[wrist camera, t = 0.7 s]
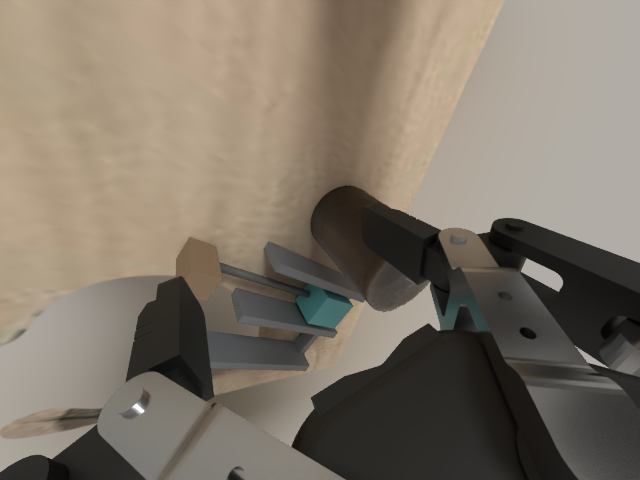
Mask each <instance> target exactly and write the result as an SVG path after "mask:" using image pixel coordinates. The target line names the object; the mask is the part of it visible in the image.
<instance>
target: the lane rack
mask: <svg viewBox="0 0 640 480" xmlns="http://www.w3.org/2000/svg"><path fill="white" fill-rule="evenodd" d="M264 250H265V252H266V254H267V257H268V259H269V261H270V263H271V265H272V267H273V269H274V271H275V272H277V273H280V274H283V275H286V276H289V277H292V278H294V279H297V280H300V281H303V282H306V283H309V284H311V285H314V286H317V287H320V288H323V289H326V290H329V291H331V292H334V293H337V294H340V295H343V296H346V297H347V298H348V300H349V299H350V298H351V299H354V300H357V301H360V302H364V301H365V299H364V298H363V296H362V295H361V294H360V293H359V292H358V290H357V289H356V288H355V287H354V285H353V284H352V283H351V282H350V281H349V279H348V278H347V277H346V276H345V275H343V274H341V273H339V272H336V271H334V270H332V269H330V268H327V267H325V266H323V265H321V264H318V263H316V262H314V261H312V260H309V259H307V258H305V257H303V256H300V255H298V254H296V253H293V252H291V251H289V250H287V249H284V248H282V247H280V246H278V245H275V244H273V243H271V242H268V243H267V245H266V246H265V248H264ZM232 300H233V304H234V309H235V312H236V317H237V322H238V323H244V324H250V325H256V326H262V327H268V328H275V329H281V330H287V331H293V332H300V333H301V334H300V335H299V337H298V338H297V339H296V340H295V342H291V341H283V340H275V339H267V338H259V337H250V336H242V335H234V334H227V333H219V332H210V331H206V332H207V340H208V349H209V357H210V366H211V369H249V370H294V371H306V370H307V368H308V367H309V364H308V362H307V359H306V357H305V355H304V353H305V352H306V351H307V350H308V348H309V347H310V346H311V345H312V344H313V342H314V341H315V340H316V339H317V337H318V336H324V337H331V338H334V336H335V335H336V334H337V331H336V330H335V328H334V329H333V328H328V327H323V326H318V325H313V324H308V323H307V321H306V319H305V317H304V315H303V313H302V311H301V309H300V308H299V306H298V304H294V303H290V302H287V301H283V300H279V299H275V298H271V297H267V296H264V295H260V294H256V293H252V292H248V291H244V290H241V289H237V288H236V289H235V290H234V292H233V293H232Z"/></svg>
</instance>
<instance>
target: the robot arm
mask: <svg viewBox="0 0 640 480" xmlns="http://www.w3.org/2000/svg"><path fill="white" fill-rule="evenodd" d="M361 227H362V238H363V241H364V243H365V245H366V246H367V247H368V248H370V249H371V250H372V251H373V252H375V253H376V254H377V255H379V256H380V257H381V258H383V259H384V260H385V261H387V262H388V263H389V264H391V265H392V266H393V267H395V268H396V269H397V270H398V271H400V272H401V273H402V274H404V275H405V276H406V277H408V278H409V279H410V280H412V281H413V282H414V283H416V284H417V285H419V284H421V283H423V282H425V281H427V280H429V281H430V282H431V284H430V290H431V293H432V297H433V301H434V304H435V308H436V311H437V315H438V319H439V322H440V331H437V330H436V329H434V328H433V327H432V326H431V325H430V324H427V325H425V326H423V327H422V328H420V329H419V330H417V331H415V332H414V333H412V334H411V335H409V336H407V337H406V338H404V339H403V340H402V341H401V343H400V344H399V345H398V346H397V347H396V349H395V350H394V351H393V352H392V353H391V355H390V356H389V357H388V358H387V359H386V361H385V362H384V363H383V364H382V365H380V366H377V367H374V368H371V369H368V370H364V371H361V372H358V373H354V374H351V375H348V376H344V377H343V378H341V379H339V380H338V381H336V382H335V383H333V384H332V385H330V386H328V387H327V388H325V389H324V390H322V391H320V392H319V393H317V394H316V395H314V396H313V397H311V400H312V402H313V406H314V410H313V411H312V412H311V413H310V415H309V416H308V417H307V419H306V420H305V422H304V423H303V424H302V426H301V428H300V429H299V431H298V433H297V435H296V437H295V439H294V441H293V444H292V446H291V447H290V446H289V445H287V444H285V443H284V442H282V441H280V440H279V439H277V438H275V437H274V436H272V435H270V434H269V433H267V432H265V431H263V430H262V429H260V428H259V427H257V426H255V425H254V424H252V423H250V422H248V421H247V420H245V419H243V418H242V417H240V416H238V415H237V414H235V413H234V412H232V411H230V410H229V409H227V408H225V407H224V406H221V405H220V404H217V403H214V404H213V405H211V404H209V403H207V402H206V401H207V400H209V399H211V398H213V397H214V392H213V383H212V375H211V366H210V357H209V349H208V340H207V332H206V324H205V317H204V313H203V310H202V308H201V306H200V304H199V302H198V300H197V299H196V297H195V295H194V294H193V292H192V290H191V289H190V287H189V285H188V284H187V282H186V281H185V279H184V278H183V277H182V276H179V277H176V278H174V279H171V280H168V281H165V282H163V283H160V284H158V289H157V297H156V300H155V301H152V302H149V303H147V304H146V306H145V308H144V309H143V310H142V312H141V313H140V315H139V316H138V321H137V326H136V330H137V331H136V332H135V337H134V340H135V342H133V347H132V352H131V357H130V362H129V368H128V373H127V378H126V383H125V384H123V385H122V386H121V387H120V388H119V389H118V390H117V391H116V392H115V393H114V394H113V395H112V396H111V398H110V399H109V400H108V401H107V403H106V404H105V406H104V407H103V409H102V411H101V413H100V416H99V419H98V424H97V425H96V426H94V427H93V428H92V429H91V430H90V431H88V432H87V433H86V434H84V435H83V436H82V437H80V438H79V439H78V440H76V441H75V442H74V443H73V444H71V445H70V446H69V447H67V448H66V449H65V450H63V451H62V452H61V453H60V454H59V455H57V456H56V457H54V458H53V459H49V458H47V457H45V456H42V455H32V456H29V457H26V458H23V459H21V460H19V461H17V462H15V463H14V464H12V465H10V466H9V467H7V468H6V469H5V470H3V471H2V472H0V480H640V263H638V262H635V261H633V260H630V259H627V258H624V257H622V256H619V255H616V254H614V253H611V252H608V251H605V250H603V249H600V248H597V247H595V246H592V245H589V244H586V243H584V242H581V241H578V240H575V239H573V238H570V237H567V236H565V235H562V234H559V233H556V232H554V231H551V230H548V229H546V228H543V227H540V226H537V225H535V224H532V223H529V222H527V221H523V220H520V219H514V218H502V219H498V220H495V221H494V222H493V224H492V227H491V230H490V232H488V233H482V234H475V233H473V232H472V231H469V230H466V229H462V228H448V229H445V230H442V231H441V230H439V229H437V228H435V227H433V226H431V225H429V224H427V223H425V222H423V221H420V220H418V219H417V220H416V218H414V217H412V216H409V215H408V214H406V213H404V212H402V211H400V210H395V209H390V208H388V207H386V206H384V205H382V204H380V203H377V202H376V203H373V204H371V205H368V206H365V207H363V208H362V209H361ZM526 258H528V259H530V260H532V261H534V262H536V263H538V264H540V265H543V266H545V267H546V268H549V269H551V270H553V271H555V272H556V273H558V274H559V275H560V276H561V277H562V279H563V286H562V288H561V289H560V291H559V292H558V291H556V290H554V289H552V288H550V287H548V286H546V285H544V284H542V283H541V282H539V281H537V280H535V279H533V278H531V277H529V276H527V275H525V274H524V273H522V272H521V269H522V267H523V265H524V263H525V260H526ZM574 345H575V346H576V347H578V348H579V349H581V350H582V351H584V352H586V353H588V354H589V355H590V356H592V357H593V358H595V359H596V360H598V361H599V362H601V363H602V364H604V365H606V366H607V367H609V369H608V368H605V367H601V366H597V365H594V364H590V363H587V362H586V360H585V359H584V358H583V356H582V355H581V354H580V352H579V351H578V350H577V348H576V347H575V346H574Z"/></svg>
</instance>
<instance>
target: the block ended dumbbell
mask: <svg viewBox="0 0 640 480" xmlns="http://www.w3.org/2000/svg"><path fill="white" fill-rule="evenodd" d="M221 272H222V273H226V274H229V275H232V276H236V277H239V278H243V279H246V280H249V281H253V282H256V283H260V284H263V285H266V286H270V287H273V288H276V289H280V290H283V291H287V292H290V293H293V294H297V295H299V296H298V297H297V298H296V302H297V304H298V306H299V308H300V309H301V311H302V313H303V315H304V317H305V319H306V321H307V323H308V324H313V325H318V326H323V327H328V328H333V329H334V328H335V327H336V326H337V325H338V324H339V322H340V321H341V320H342V319H343V318H344V316H345V315H346V314H347V313H348V312H349V310H350V309H351V308H352V307H353V305H352V304H351V302H350V301H349V300H348V298H347V297H346V296H343V295H340V294H337V293H334V292H331V291H329V290H326V289H323V288H320V287H317V286H314V285H311V284H309V283H308V284H307V285H306V287H305V288H304V289H301V288H297V287H294V286H291V285H288V284H285V283H282V282H279V281H276V280H273V279H270V278H266V277H263V276H260V275H257V274H254V273H251V272H248V271H245V270H242V269H238V268H235V267H232V266H229V265H226V264H223V263H220V262H219V259H218V254H217V249H216V247H215V246H212V245H209V244H206V243H204V242H201V241H198V240H195V239H192V238H189V239H188V241H187V243H186V244H185V246H184V247H183V249H182V251H181V252H180V254H179V255H178V257H177V259H176V277H179V276H182V277H183V278H184V279H185V281H186V282H187V284H188V285H189V287H190V289H191V290H192V292H193V294H194V295H195V297H196V299H197V300H201V301H206V302H207V301H208V300H209V298H210V297H211V295H212V294H213V292H214V291H215V289H216V288H217V286H218V285H219V284H220V282H221V281H222V279H223V278H222V273H221Z"/></svg>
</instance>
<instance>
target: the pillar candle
mask: <svg viewBox="0 0 640 480" xmlns="http://www.w3.org/2000/svg"><path fill="white" fill-rule="evenodd" d="M376 202H377V203H380V204H382V205H384V206H386V207H388V206H387V205H385V204H383V203H382V202H380V201H378V200H377V199H375V198H374V197H372V196H371V195H369V194H367V193H366V192H365V191H363V190H361V189H359V188H356V187H353V186H343V187H339V188H337V189H334V190H333V191H331V192H329V193H328V194H326V195H325V196H324V197H323V198H322V199H321V200H320V202H319V203H318V205H317V206H316V208H315V210H314V212H313V215H312V218H311V231H312V234H313V236H314V238H315V239H316V240H317V242H318V243H319V244H320V246H321V247H322V248H323V249H324V250H325V252H326V253H327V254H328V255H329V256H330V258H331V259H332V260H333V261H334V262H335V264H336V265H337V266H338V267H339V268H340V270H341V271H342V272H343V273H344V275H345V276H346V277H347V278H348V279H349V281H350V282H351V283H352V284H353V285H354V287H355V288H356V289H357V290H358V292H359V293H360V294H361V295H362V296H363V298H364V299H365V300H366V301H367V302H368V304H369V305H370V306H371V307H372V308H374V309H375V310H378V311H382V312H386V311H392V310H394V309H396V308H397V307H399V306H401V305H404V304H406V303H407V302H408V301H410V300H412V299H413V298H414V297H415V296H416V295H418V293H419V292H421V291H422V290H423V289H424V288H425V287H426V286H427V285H428V284H429V282H430V281H429V280H427V281H425V282H423V283H421V284H419V285H417V284H416V283H414V282H413V281H412V280H410V279H409V278H408V277H406V276H405V275H404V274H402V273H401V272H400V271H398V270H397V269H396V268H395V267H393V266H392V265H391V264H389V263H388V262H387V261H385V260H384V259H383V258H381V257H380V256H379V255H377V254H376V253H375V252H373V251H372V250H371V249H370V248H368V247H367V246H366V245H365V243H364V241H363V238H362V227H361V209H362V208H363V207H365V206H368V205H371V204H373V203H376ZM388 208H390V207H388ZM390 209H391V208H390Z"/></svg>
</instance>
